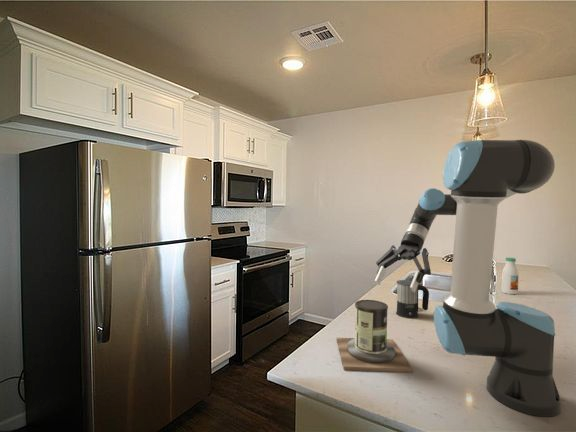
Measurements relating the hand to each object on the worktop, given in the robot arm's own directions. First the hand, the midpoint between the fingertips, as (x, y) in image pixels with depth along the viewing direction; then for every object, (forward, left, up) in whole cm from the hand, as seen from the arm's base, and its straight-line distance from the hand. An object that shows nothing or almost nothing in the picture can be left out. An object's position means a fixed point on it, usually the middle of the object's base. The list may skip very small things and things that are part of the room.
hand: (393, 286), depth 108 cm
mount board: (-8, +9, -21) cm, 24 cm away
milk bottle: (+72, -86, -21) cm, 114 cm away
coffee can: (-8, +9, -18) cm, 22 cm away
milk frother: (+35, -16, -21) cm, 44 cm away
